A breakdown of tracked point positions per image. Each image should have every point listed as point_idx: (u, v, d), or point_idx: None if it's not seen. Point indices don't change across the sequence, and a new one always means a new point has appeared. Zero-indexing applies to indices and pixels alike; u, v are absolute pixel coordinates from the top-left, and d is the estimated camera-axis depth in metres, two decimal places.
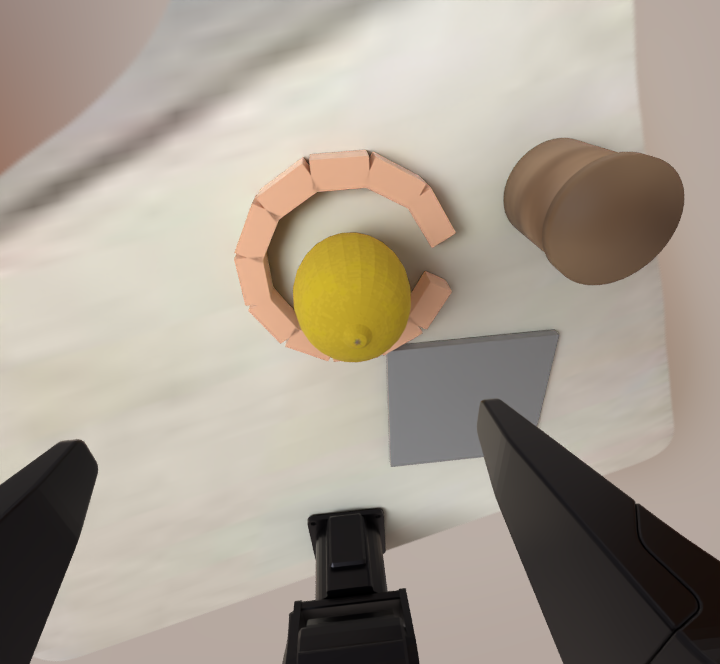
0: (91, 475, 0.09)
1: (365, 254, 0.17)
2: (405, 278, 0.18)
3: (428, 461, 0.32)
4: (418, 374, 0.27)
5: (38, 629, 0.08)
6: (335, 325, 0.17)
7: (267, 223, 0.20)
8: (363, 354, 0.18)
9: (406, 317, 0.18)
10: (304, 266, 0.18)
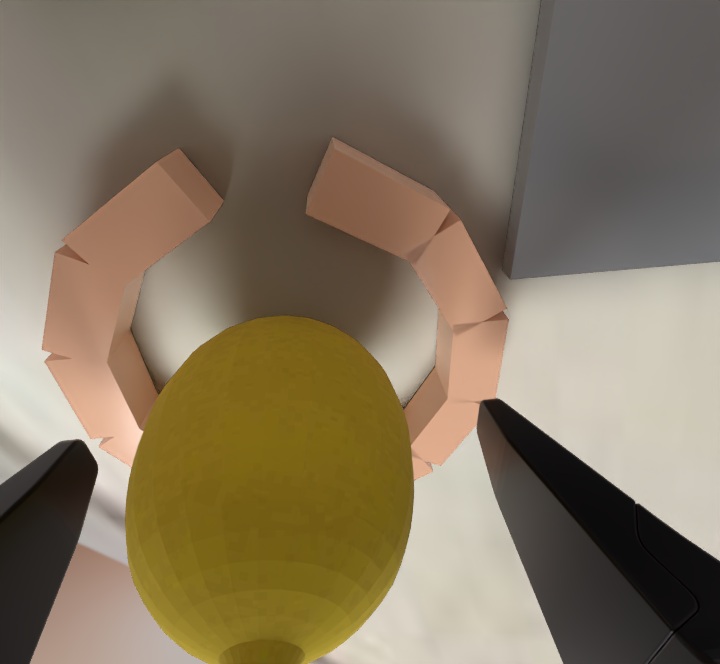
0: (91, 475, 0.09)
1: None
2: (183, 414, 0.07)
3: None
4: (609, 195, 0.10)
5: (38, 629, 0.08)
6: None
7: None
8: (339, 625, 0.06)
9: (253, 479, 0.06)
10: None
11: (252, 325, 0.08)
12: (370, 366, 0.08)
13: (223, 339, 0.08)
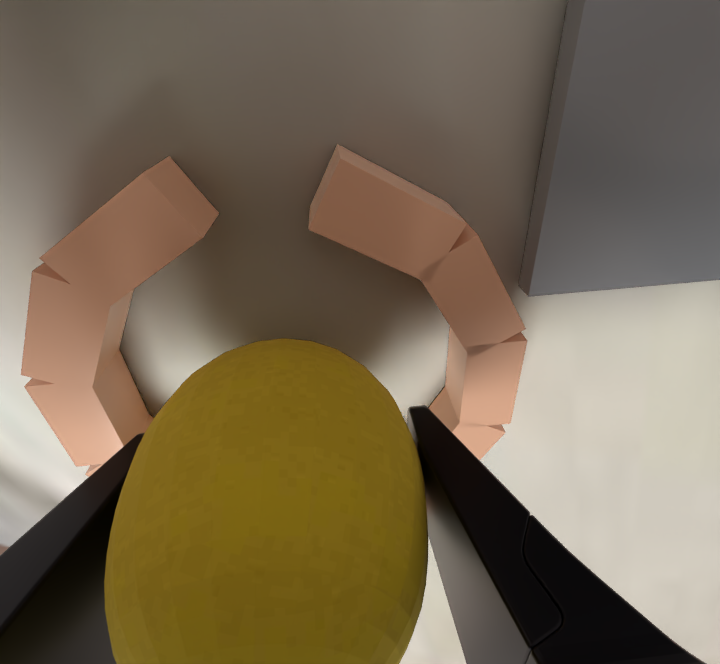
0: None
1: None
2: (170, 462, 0.06)
3: None
4: (638, 206, 0.09)
5: None
6: None
7: None
8: None
9: (248, 546, 0.05)
10: None
11: (249, 352, 0.08)
12: (380, 399, 0.08)
13: (217, 369, 0.07)
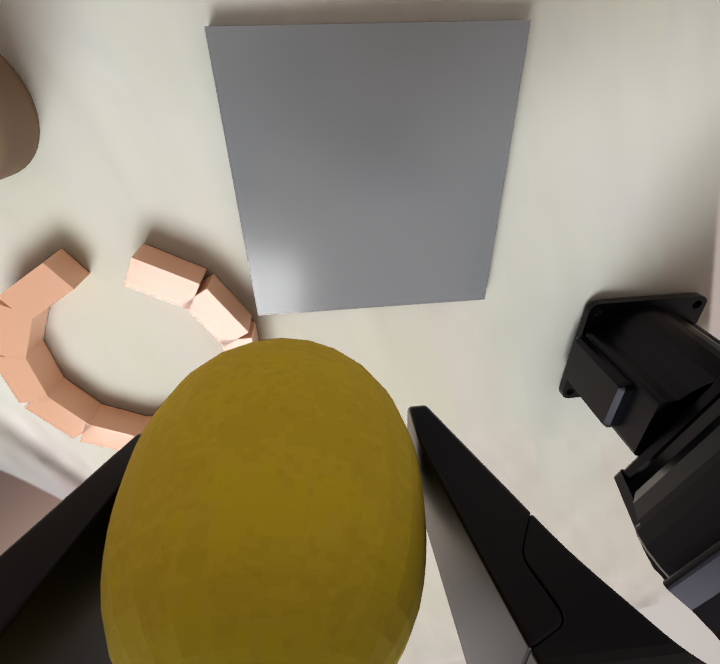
0: None
1: None
2: (166, 462, 0.06)
3: (490, 243, 0.19)
4: (298, 273, 0.19)
5: None
6: None
7: (97, 432, 0.21)
8: None
9: (245, 546, 0.05)
10: None
11: (246, 352, 0.08)
12: (378, 398, 0.07)
13: (214, 369, 0.07)
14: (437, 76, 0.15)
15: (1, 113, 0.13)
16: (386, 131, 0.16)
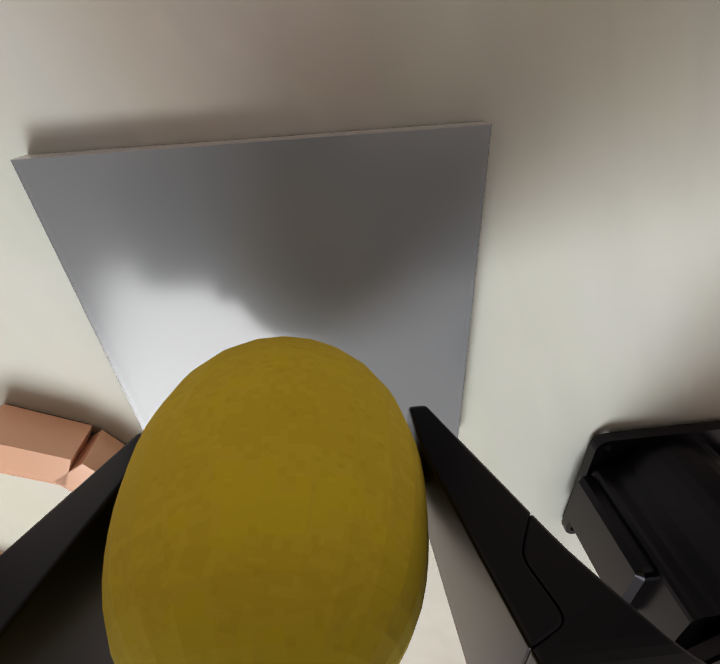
0: None
1: None
2: (168, 459, 0.06)
3: (458, 386, 0.14)
4: None
5: None
6: None
7: None
8: None
9: (247, 544, 0.05)
10: None
11: (248, 350, 0.08)
12: (380, 396, 0.07)
13: (215, 367, 0.07)
14: (362, 202, 0.10)
15: None
16: (298, 271, 0.11)
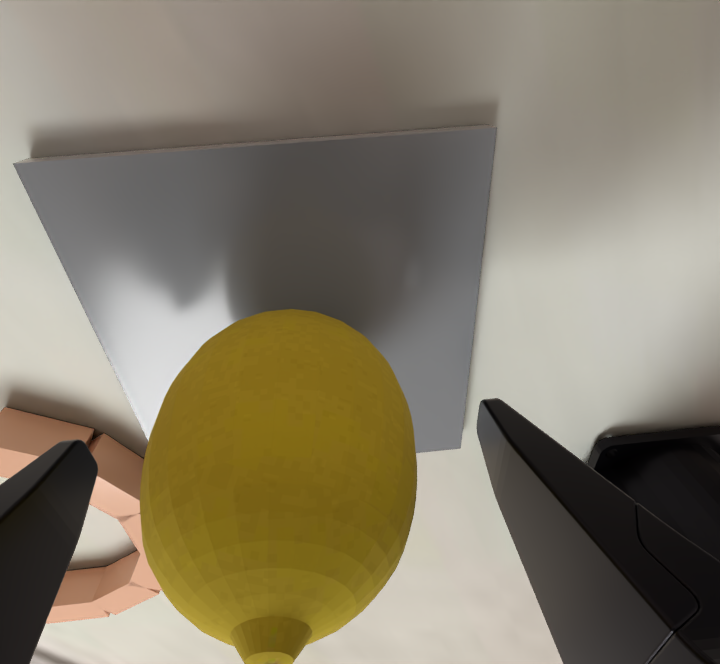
0: (91, 475, 0.09)
1: None
2: (195, 402, 0.07)
3: (462, 390, 0.14)
4: None
5: (38, 629, 0.08)
6: None
7: None
8: (344, 603, 0.06)
9: (263, 464, 0.06)
10: None
11: (260, 318, 0.09)
12: (375, 359, 0.09)
13: (233, 331, 0.08)
14: (366, 206, 0.10)
15: None
16: (301, 275, 0.11)
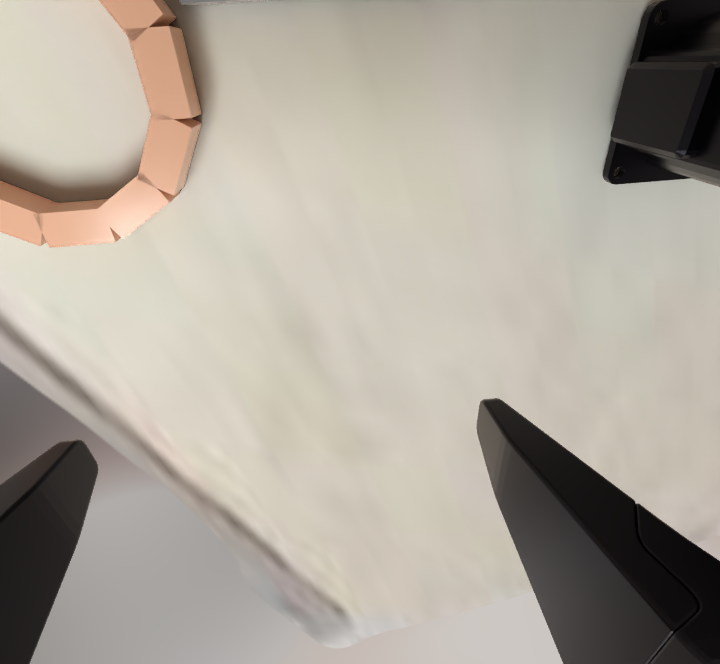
0: (91, 475, 0.09)
1: None
2: None
3: None
4: None
5: (38, 629, 0.08)
6: None
7: None
8: None
9: None
10: None
11: None
12: None
13: None
14: None
15: None
16: None
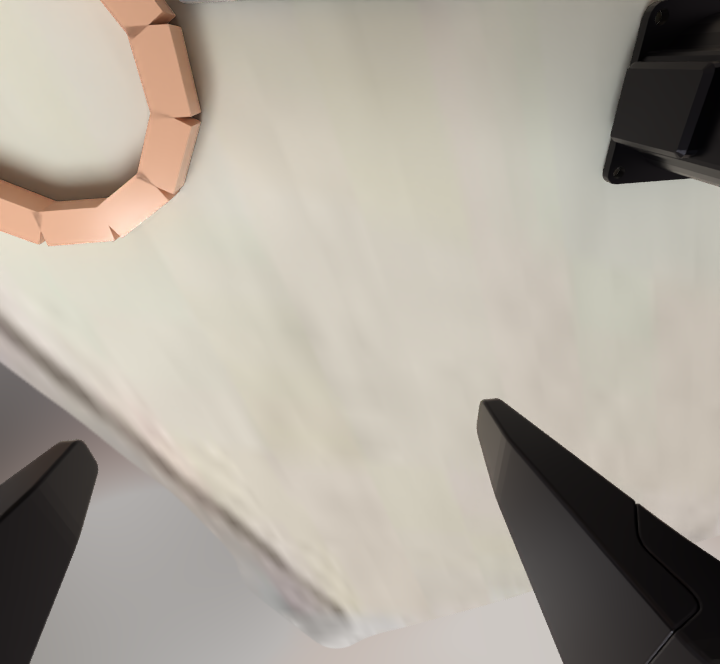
0: (91, 475, 0.09)
1: None
2: None
3: None
4: None
5: (38, 629, 0.08)
6: None
7: None
8: None
9: None
10: None
11: None
12: None
13: None
14: None
15: None
16: None
